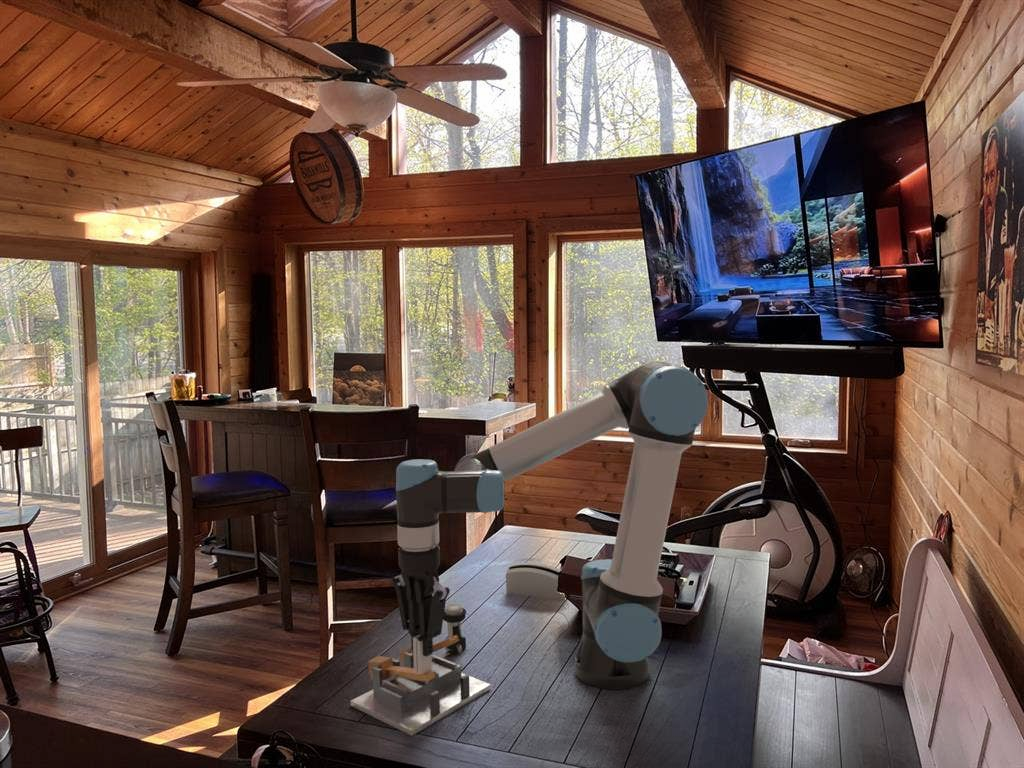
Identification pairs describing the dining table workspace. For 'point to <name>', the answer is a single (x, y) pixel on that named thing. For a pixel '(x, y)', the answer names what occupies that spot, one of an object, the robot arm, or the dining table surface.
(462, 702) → the heatsink base
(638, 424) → the robot arm
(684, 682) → the dining table surface
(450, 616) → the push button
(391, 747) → the dining table surface
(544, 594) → the pale grey rounded block
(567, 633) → the dining table surface
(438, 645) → the strap right
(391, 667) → the strap left
